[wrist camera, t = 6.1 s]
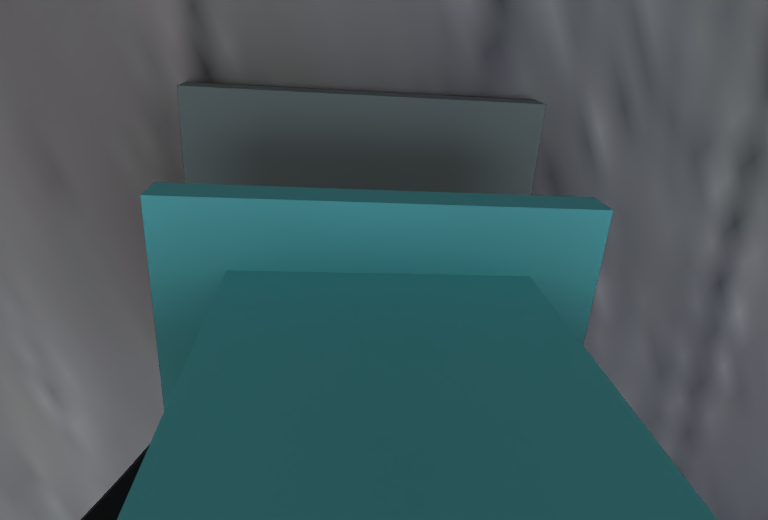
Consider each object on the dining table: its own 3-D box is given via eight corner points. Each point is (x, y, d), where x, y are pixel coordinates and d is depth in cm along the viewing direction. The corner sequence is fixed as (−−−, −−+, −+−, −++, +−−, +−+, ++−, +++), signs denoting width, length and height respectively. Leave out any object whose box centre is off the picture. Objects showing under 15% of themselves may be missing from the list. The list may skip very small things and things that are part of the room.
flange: (594, 197, 11) (966, 447, 4) (528, 515, 14) (690, 929, 7) (154, 182, 10) (-160, 459, 4) (188, 522, 13) (51, 993, 7)
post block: (534, 99, 17) (610, 130, 12) (490, 383, 20) (535, 487, 16) (186, 81, 16) (124, 106, 11) (208, 382, 19) (169, 494, 15)
